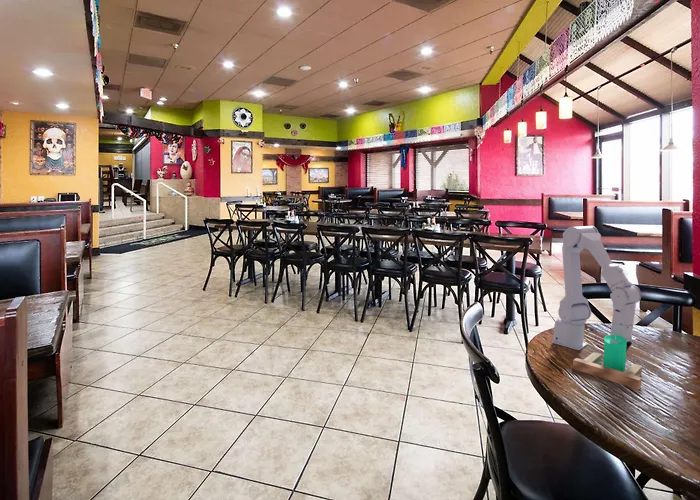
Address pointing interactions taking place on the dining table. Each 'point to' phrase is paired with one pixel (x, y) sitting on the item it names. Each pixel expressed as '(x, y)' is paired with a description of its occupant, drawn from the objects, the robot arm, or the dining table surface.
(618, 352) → the candle
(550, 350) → the dining table surface
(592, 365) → the stand
